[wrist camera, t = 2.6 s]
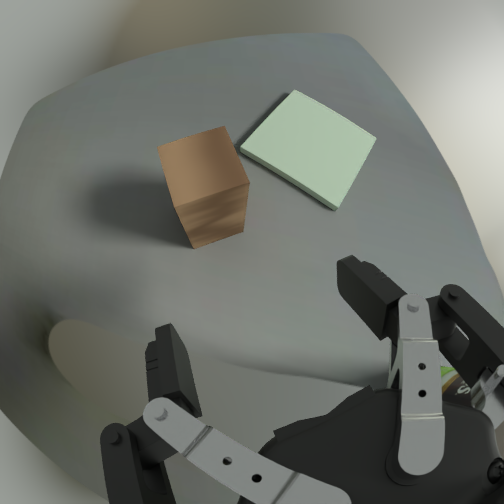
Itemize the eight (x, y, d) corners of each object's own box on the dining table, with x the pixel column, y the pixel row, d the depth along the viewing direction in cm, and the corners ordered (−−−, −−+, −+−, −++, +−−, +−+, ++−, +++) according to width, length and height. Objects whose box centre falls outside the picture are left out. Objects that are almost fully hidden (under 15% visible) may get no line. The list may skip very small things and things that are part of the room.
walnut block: (193, 249, 27) (174, 207, 17) (179, 203, 28) (157, 147, 18) (243, 231, 27) (249, 182, 18) (225, 188, 28) (224, 125, 19)
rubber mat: (240, 151, 30) (240, 146, 29) (293, 94, 33) (294, 89, 32) (335, 211, 29) (338, 207, 28) (373, 142, 32) (376, 138, 31)
